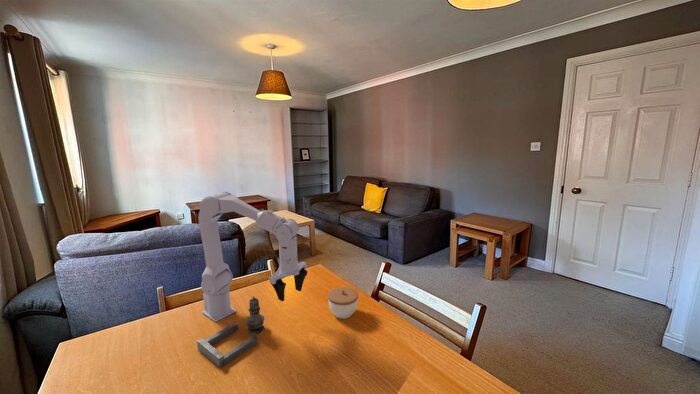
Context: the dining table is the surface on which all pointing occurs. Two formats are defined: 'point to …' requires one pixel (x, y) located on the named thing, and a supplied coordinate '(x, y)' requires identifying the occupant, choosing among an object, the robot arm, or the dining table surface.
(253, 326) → the weathered grey candle holder
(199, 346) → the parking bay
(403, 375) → the dining table surface
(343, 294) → the lidded jar
